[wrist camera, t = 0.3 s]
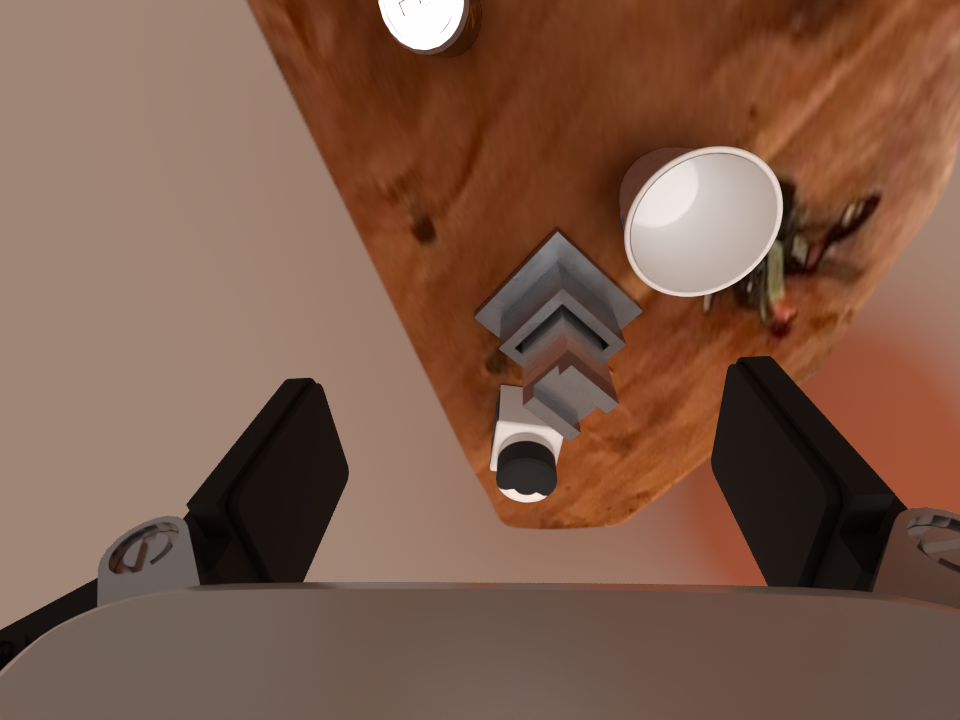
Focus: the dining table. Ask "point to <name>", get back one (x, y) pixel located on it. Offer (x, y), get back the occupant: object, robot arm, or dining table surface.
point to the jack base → (557, 297)
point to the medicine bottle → (522, 449)
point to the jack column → (565, 373)
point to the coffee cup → (698, 217)
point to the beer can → (433, 24)
